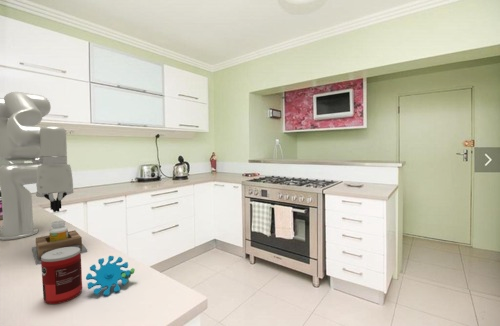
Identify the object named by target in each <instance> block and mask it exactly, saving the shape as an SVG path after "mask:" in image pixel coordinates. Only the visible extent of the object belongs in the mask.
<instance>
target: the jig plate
mask: <svg viewBox="0 0 500 326" xmlns="http://www.w3.org/2000/svg"><path fill="white" fill-rule="evenodd" d="M66 247H78V248H80V245H79V244H75V245H71V246H66ZM62 248H64V247H62ZM58 249H59V248H58ZM31 250H32V253H33V254H32V255H33V258H34V262H35V265H41V258H39V256H38V253H37V250H36V246H31ZM53 250H55V249H53ZM49 251H52V250H49ZM49 251H45V252H43V254H45V253H47V252H49ZM80 251H81V254H84V253H87V252H88V248H87V247H86V246H85V245H84V244H83V243H82V248H81V249H80Z"/></svg>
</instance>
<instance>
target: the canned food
mask: <svg viewBox="0 0 500 326" xmlns="http://www.w3.org/2000/svg"><path fill="white" fill-rule="evenodd" d="M40 265H41V266H40V267H41V280H42V281H41V282H42V295H43V296H42V297H43V300H44V302H45V303H46V304H49V305H55V304H62V303H65V302H68V301H71V300H72V299H74V298H76V297H77V296H79V295H80V294H81V292H82V289H83V276H82V253H81V251H80V248H78V247H64V248H59V249H55V250H52V251H49V252H47V253H45V254H43V255H42V256H41V264H40Z"/></svg>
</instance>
